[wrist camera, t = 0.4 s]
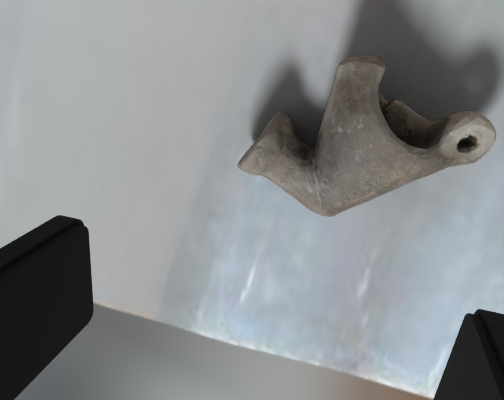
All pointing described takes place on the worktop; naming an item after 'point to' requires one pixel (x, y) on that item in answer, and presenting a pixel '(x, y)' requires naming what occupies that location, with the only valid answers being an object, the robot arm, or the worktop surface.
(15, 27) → the worktop surface
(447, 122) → the grey piece
